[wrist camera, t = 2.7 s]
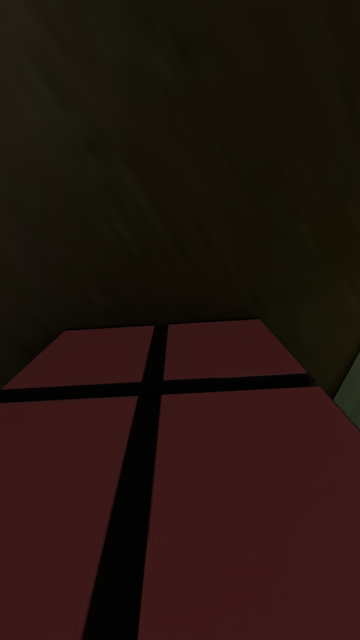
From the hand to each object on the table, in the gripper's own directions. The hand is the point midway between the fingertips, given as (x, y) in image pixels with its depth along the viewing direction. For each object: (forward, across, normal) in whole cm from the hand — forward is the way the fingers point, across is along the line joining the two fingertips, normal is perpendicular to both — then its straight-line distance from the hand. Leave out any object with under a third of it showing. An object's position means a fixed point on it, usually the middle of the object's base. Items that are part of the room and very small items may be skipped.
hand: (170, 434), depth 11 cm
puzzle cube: (+2, 0, 0) cm, 2 cm away
